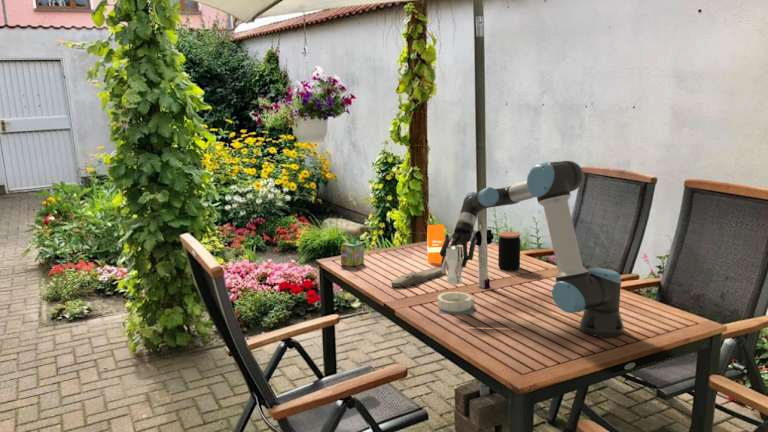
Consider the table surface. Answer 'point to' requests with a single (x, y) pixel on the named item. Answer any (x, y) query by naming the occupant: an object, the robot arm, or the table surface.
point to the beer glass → (453, 264)
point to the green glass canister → (352, 253)
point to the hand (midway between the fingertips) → (450, 272)
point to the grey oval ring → (470, 311)
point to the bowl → (454, 301)
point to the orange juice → (435, 242)
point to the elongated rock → (416, 277)
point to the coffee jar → (509, 251)
